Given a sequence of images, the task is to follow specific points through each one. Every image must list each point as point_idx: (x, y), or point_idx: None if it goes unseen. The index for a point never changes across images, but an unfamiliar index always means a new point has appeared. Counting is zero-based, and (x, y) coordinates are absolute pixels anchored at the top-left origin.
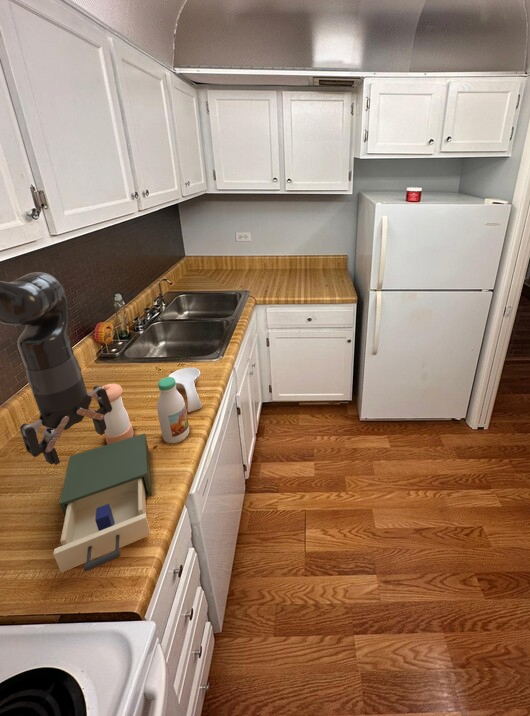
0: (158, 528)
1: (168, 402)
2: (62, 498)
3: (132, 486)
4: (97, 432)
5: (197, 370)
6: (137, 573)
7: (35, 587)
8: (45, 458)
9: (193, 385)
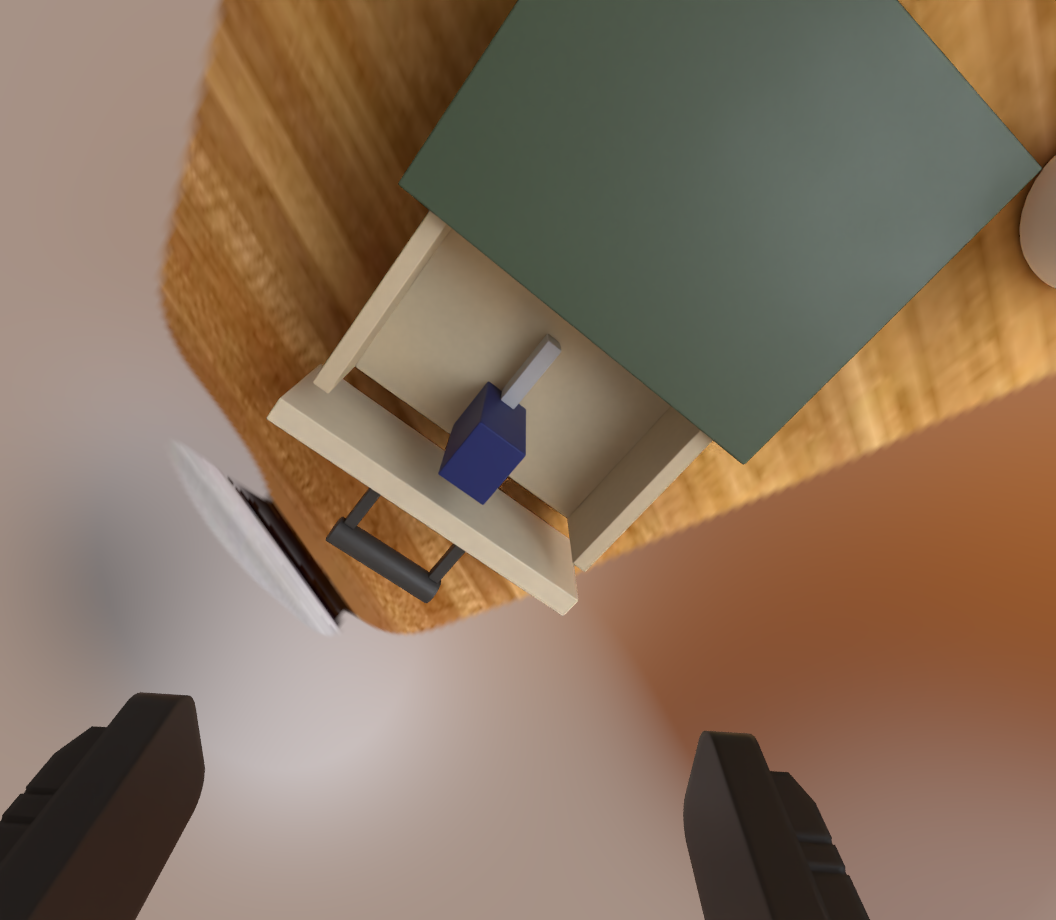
0: None
1: None
2: (427, 161)
3: None
4: (700, 755)
5: None
6: (454, 592)
7: (238, 323)
8: (26, 797)
9: None
